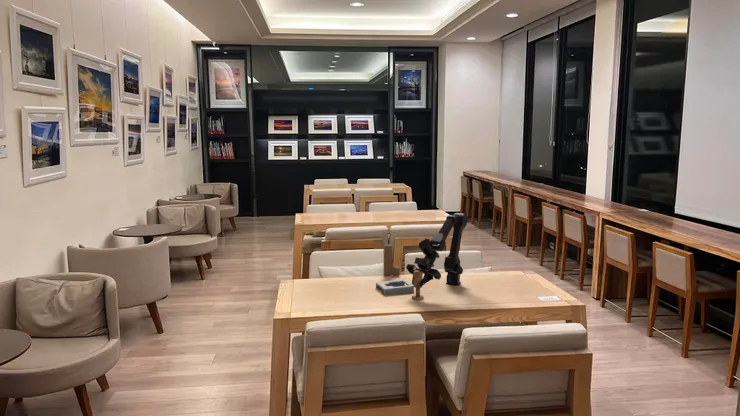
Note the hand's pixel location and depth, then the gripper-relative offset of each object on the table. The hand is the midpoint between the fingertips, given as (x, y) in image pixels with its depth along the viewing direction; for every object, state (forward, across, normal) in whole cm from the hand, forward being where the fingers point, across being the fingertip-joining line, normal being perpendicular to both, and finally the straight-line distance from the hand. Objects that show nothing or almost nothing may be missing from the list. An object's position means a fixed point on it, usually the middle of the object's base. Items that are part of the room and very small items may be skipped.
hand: (416, 285), depth 272 cm
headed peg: (+4, 0, +6) cm, 7 cm away
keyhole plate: (+2, -18, +8) cm, 20 cm away
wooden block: (-14, -37, +24) cm, 46 cm away
